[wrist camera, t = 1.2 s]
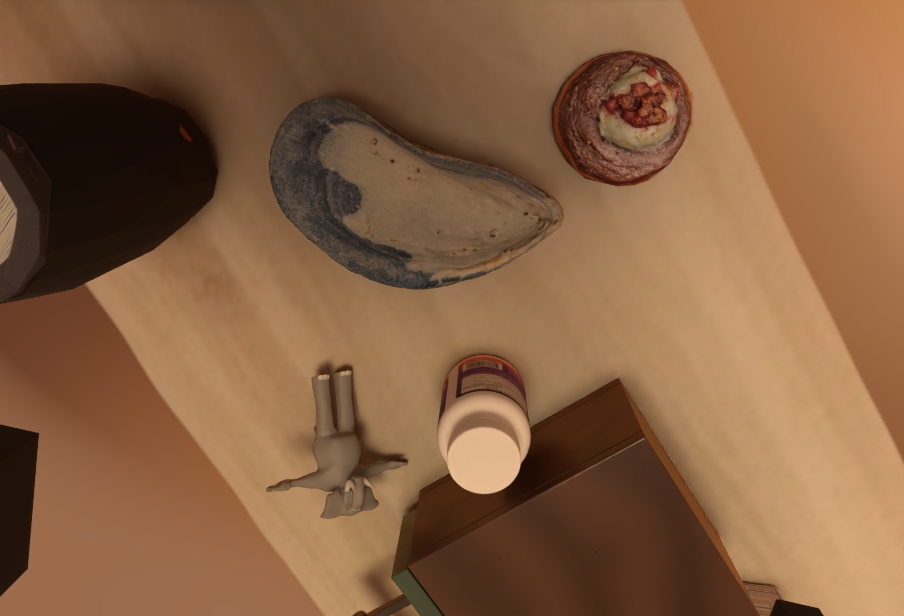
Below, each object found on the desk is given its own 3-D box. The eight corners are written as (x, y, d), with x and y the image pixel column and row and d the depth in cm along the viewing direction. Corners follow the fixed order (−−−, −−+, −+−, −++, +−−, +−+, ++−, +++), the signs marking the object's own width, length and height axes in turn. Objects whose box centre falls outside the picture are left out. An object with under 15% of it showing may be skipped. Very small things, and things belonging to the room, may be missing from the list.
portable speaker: (211, 78, 45) (13, 72, 26) (236, 233, 47) (73, 329, 29) (71, 90, 45) (-220, 93, 27) (104, 243, 48) (-140, 344, 29)
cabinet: (523, 633, 55) (530, 729, 46) (419, 490, 52) (406, 566, 44) (717, 534, 52) (761, 618, 44) (618, 377, 49) (645, 436, 41)
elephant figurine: (420, 362, 49) (434, 502, 49) (373, 368, 54) (385, 496, 53) (277, 376, 43) (291, 536, 43) (238, 381, 48) (250, 526, 47)
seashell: (499, 30, 43) (500, 22, 39) (567, 232, 46) (576, 249, 42) (258, 125, 45) (232, 129, 41) (339, 313, 49) (323, 337, 44)
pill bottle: (488, 444, 51) (488, 524, 41) (426, 395, 50) (412, 465, 41) (542, 387, 49) (555, 457, 40) (479, 336, 49) (478, 395, 39)
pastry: (700, 56, 43) (725, 57, 38) (676, 188, 45) (697, 204, 41) (559, 45, 43) (567, 44, 38) (543, 176, 46) (549, 190, 41)
